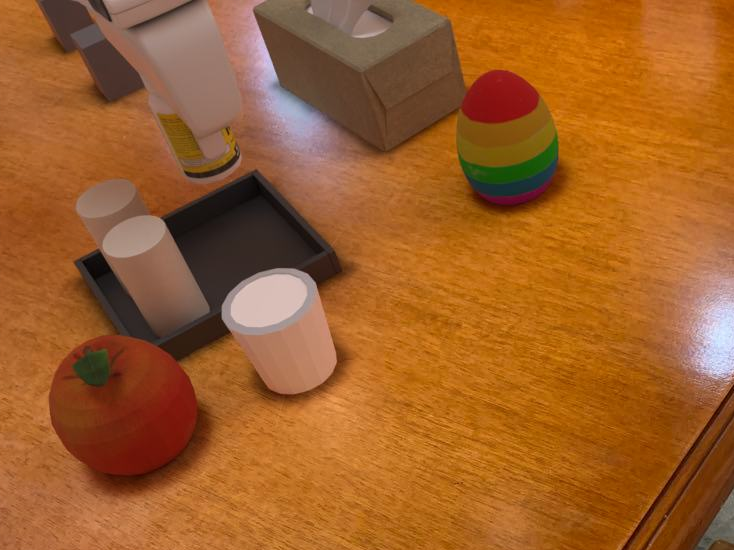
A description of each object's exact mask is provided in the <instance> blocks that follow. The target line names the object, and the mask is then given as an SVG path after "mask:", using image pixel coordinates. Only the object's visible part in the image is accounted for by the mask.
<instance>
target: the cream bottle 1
mask: <svg viewBox="0 0 734 550" xmlns="http://www.w3.org/2000/svg"><path fill="white" fill-rule="evenodd" d="M75 211H76V213H77V215H78V217H79V218H80V220H81V222H82V223H83V225H84V226H85V228H86V230H87V231H88V233H89V235H90V237H91V238H92V240H93V242H94V243H95V244H96V246H97V249H100V251H101V253H102V254H103V256H104V258H105V259H106V261H107V263H108V264H109V266H110V267H111V269H112V271H113V272H114V274H115V276H116V277H117V279H118V281H119V282H120V284H121V286H122V287H123V289H124V291H125V292H126V293H127V295H129V296H130V297H131V295H130V293H129V292H128V290H127V288H126V287H125V285H124V283H123V282H122V280H121V279H120V277H119V275H118V274H117V272H116V270H115V269H114V267H113V265H112V264H111V262H110V260H109V259H108V257H107V255H106V254H105V252H104V250H103V247H102V244H103V240H104V238H105V236H106V235H107V233H108V232H109V231H110V230H111V229H112V228H114V227H115V226H116V225H118V224H119V223H121V222H123V221H125V220H127V219H130V218H133V217H137V216H143V215H151V216H152V214H151V212H150V210H149V208H148V207H147V204H146V202H145V201H144V199H143V197H142V195H141V194H140V192H139V190H138V188H137V186H136V184H135V183H134V182H133V181H132V180H129V179H127V178H111V179H106V180H103V181H101V182H98V183H95V184H94V185H92V186H91V187H89V188H87V189H86V190H85V191H84V192H82V193H81V194H80V196H79V197H78V198H77V200H76V202H75Z"/></svg>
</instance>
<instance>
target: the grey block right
mask: <svg viewBox="0 0 734 550" xmlns="http://www.w3.org/2000/svg"><path fill="white" fill-rule="evenodd" d="M70 37H71V39H72V40H73V42H74V44H75V46H76V48H77V49H76V50H77V52H78V54H79V55H80V58H81V59H82V61H83V63H84V65H85V68H86V69H87V71H88V73H89V74H90V77H91V78H92V80H93V82H94V84H95V86H96V88H97V89H98V91H99V92H100V93H101V94H102V96H104V97H105V99H106V100H107V101H108V102H109V103H111V102H113V101H115V100H118V99H119V98H120V99H121V98H122V97H124V96H126V95H128V94H131V93H133V92H135V91H137V90H139V89H141V88H144V87H145V86H144V83H143V81H142V79H141V77H140V74H139V73H138V72H137V71H136V70H135V69H134V68H133V67H132V66H131V64H130V63H129V62H128V61H127V60H126V59H125V58H124V57H123V56H122V55H121V54H120V53H119V51H118V50H117V49H116V48H115V47H114V46H113V45H112V44H111V43H110V42H109V41H108V40H107V38H106V37H105V36H104V34H103V33H102V31H101V30H100V28H99V26H98V24H97V23H96V22H94V24H92V25H90V26H88V27H86V28H84V29H81V30H79V31H77V32H75V33H72V34H70Z"/></svg>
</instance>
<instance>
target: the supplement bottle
mask: <svg viewBox="0 0 734 550" xmlns="http://www.w3.org/2000/svg"><path fill="white" fill-rule="evenodd" d="M139 74H140V77H141V79H142V81H143V83H144V86H143V87H144V88H145V89H146V91H147V92H148V95H147V104H148V106H149V110H150V111H151V113H152V116H153V117H154V120H155V122H156V124H157V126H158V127H159V130H160V132H161V133H162V136H163V137H164V140H165V142H166V144H167V146H168V148H169V150H170V153H171V154H172V156H173V158H174V161H175V162H176V164H177V166H178V168H179V170H180V173H181V174H182V176H183V178H184V179H186V180H187V181H189V182H191V183H193V184H196V185H208V184H214V183H217V182H220V181H222V180H224V179H226V178H228V177H229V176H231V175H232V174H233V173H234V172H236V171H237V170H238V169H239V168H240V165H241V163H242V160H243V155H242V152H241V149H240V146H239V145H238V142H237V140H236V138H235V137H236V136H235V135H234V133H233V131H232V129H231V127H230V126H231V125H230V126H228V127H226V128H224V129H222V130H220V131H221V133H222V136H223V138H224V140H225V142H226V145H227V150H226V152H225V153H224V154H222V155H220V156H218V157H216V158H214V159H212V160H211V159H207V158H206V157H205V156H204V155H203V154H202V153H201V152H200V151H199V149H198V148H197V146H196V143H195V141H194V140H193V137H192V135H191V133H190V132H191V129H190V128H189V127H188V126H187V125H186V124H185V123H184V122H183V121H182V120H181V119H180V118H179V116H178V115H177V114H176V113H175V112H174V111H173V110H172V109H171V108H170V107H169V106H168V105H167V103H166V102H165V101H164V100H163V99H162V98H161V97H160V96H159V95H158V94H157V93H156V92H155V90H154V89H153V88H152V87H151V86H150V84H149V83H148V82H147V80H146V78H145V77H144V76H143V75H142V74H141V72H140V71H139Z"/></svg>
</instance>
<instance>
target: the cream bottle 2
mask: <svg viewBox="0 0 734 550" xmlns="http://www.w3.org/2000/svg"><path fill="white" fill-rule="evenodd" d="M102 247H103V250H104V252H105V254H106V255H107V257H108V259H109V260H110V262H111V264H112V265H113V267H114V269H115V270H116V272H117V274H118V275H119V277H120V279H121V280H122V282H123V283H124V285H125V287H126V288H127V290H128V292H129V293H130V295H131V297H132V298H133V300H134V302H135V303H136V305H137V307H138V308H139V310H140V312H141V313H142V315H143V317H144V318H145V320H146V322H147V323H148V325H149V326H150V328H151V330H152V331H153V333H154V334H155V335H156V336H158V337H160V338H162V337H164V336H166V335H168V334H170V333H172V332H174V331H175V330H177V329H179V328H181V327H183V326H185V325H187V324H188V323H190V322H192V321H194V320H196V319H198V318H200V317H202V316H203V315H205V314H207V313H209V312H210V308H209V305H208V303H207V301H206V299H205V298H204V296H203V294H202V292H201V290H200V288H199V286H198V284H197V282H196V281H195V279H194V277H193V275H192V273H191V271H190V269H189V267H188V266H187V264H186V262H185V260H184V258H183V256H182V254H181V252H180V251H179V249H178V247H177V245H176V243H175V241H174V239H173V237H172V235H171V234H170V232H169V230H168V228H167V226H166V224H165V222H164V221H163V220H162V219H160V217H158V216H155V215H152V214H151V215H143V216H137V217H133V218H130V219H127V220H125V221H123V222H121V223H119V224H118V225H116V226H115V227H114V228H112V229H111V230H110V231H109V232H108V233H107V235H106V236H105V238H104V240H103V244H102Z"/></svg>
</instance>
